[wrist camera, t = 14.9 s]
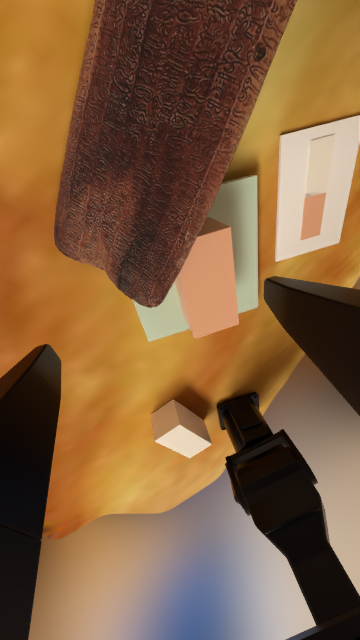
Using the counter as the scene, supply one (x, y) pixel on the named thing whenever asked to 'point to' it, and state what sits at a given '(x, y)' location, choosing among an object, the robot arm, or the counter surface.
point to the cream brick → (180, 429)
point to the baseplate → (242, 216)
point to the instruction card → (314, 186)
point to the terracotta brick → (209, 281)
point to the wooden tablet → (158, 130)
